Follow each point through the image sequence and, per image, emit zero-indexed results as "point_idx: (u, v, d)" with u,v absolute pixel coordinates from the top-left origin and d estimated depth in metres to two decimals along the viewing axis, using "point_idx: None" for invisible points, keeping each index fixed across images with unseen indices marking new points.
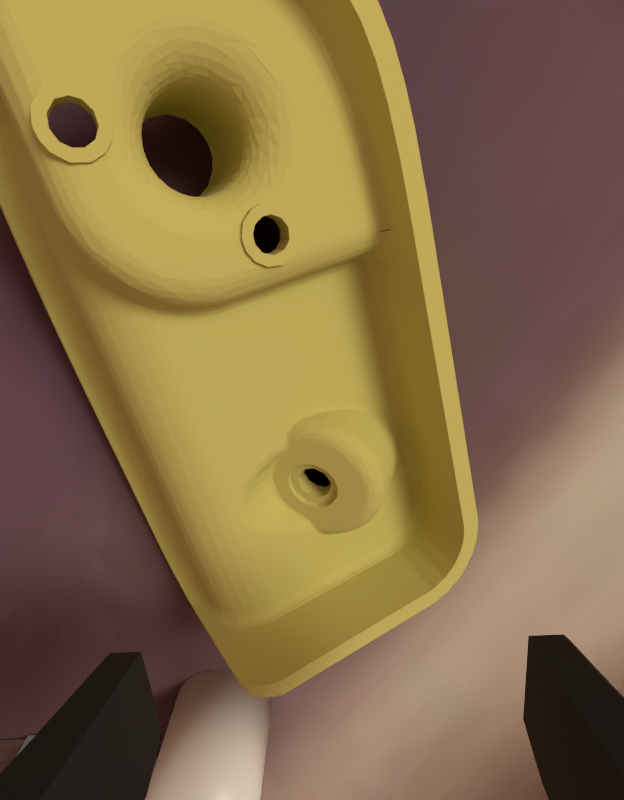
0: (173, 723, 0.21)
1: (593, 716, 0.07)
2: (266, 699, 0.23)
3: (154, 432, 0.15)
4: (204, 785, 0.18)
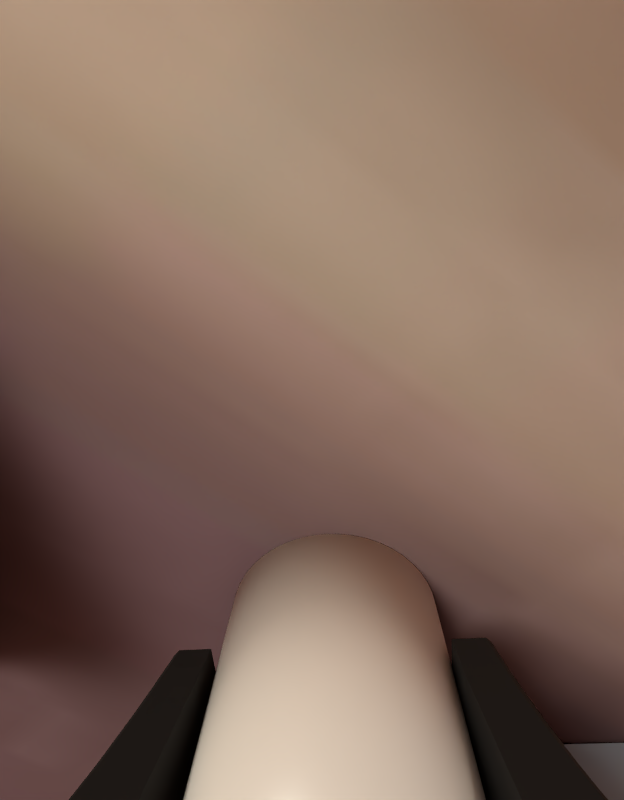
0: None
1: (495, 719, 0.07)
2: (299, 545, 0.10)
3: None
4: None
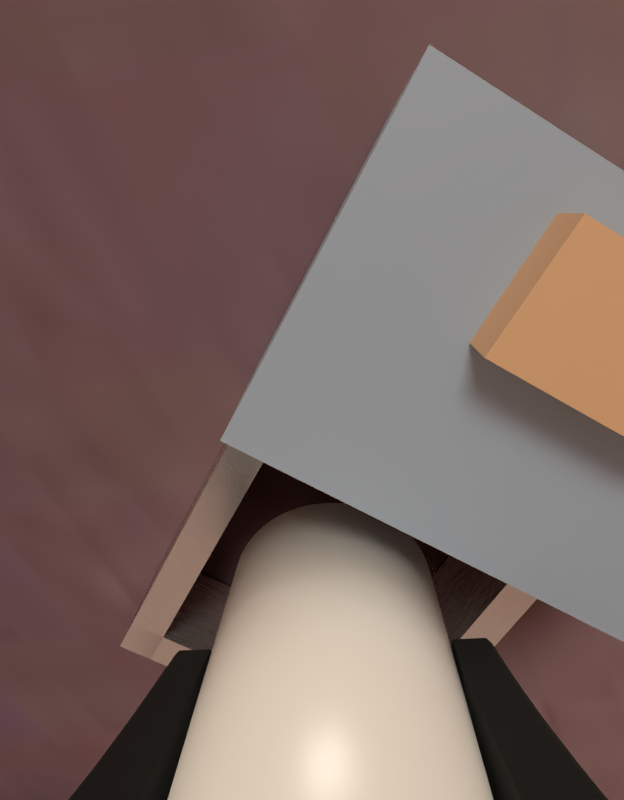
0: None
1: (495, 719, 0.07)
2: (299, 513, 0.11)
3: None
4: None
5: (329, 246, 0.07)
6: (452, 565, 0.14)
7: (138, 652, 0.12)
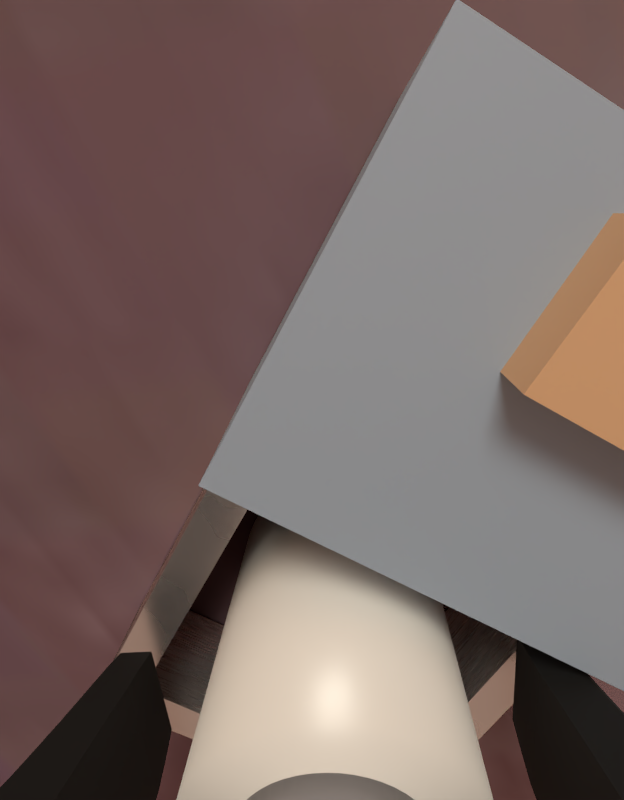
0: None
1: (578, 716, 0.07)
2: None
3: None
4: (196, 728, 0.08)
5: (329, 254, 0.06)
6: None
7: None
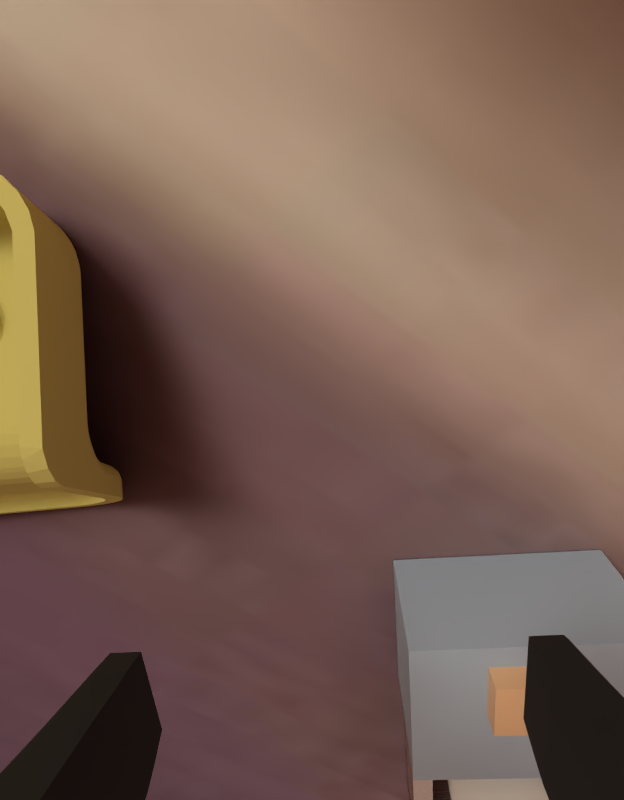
0: None
1: (593, 716, 0.07)
2: None
3: None
4: None
5: (413, 710, 0.17)
6: None
7: None
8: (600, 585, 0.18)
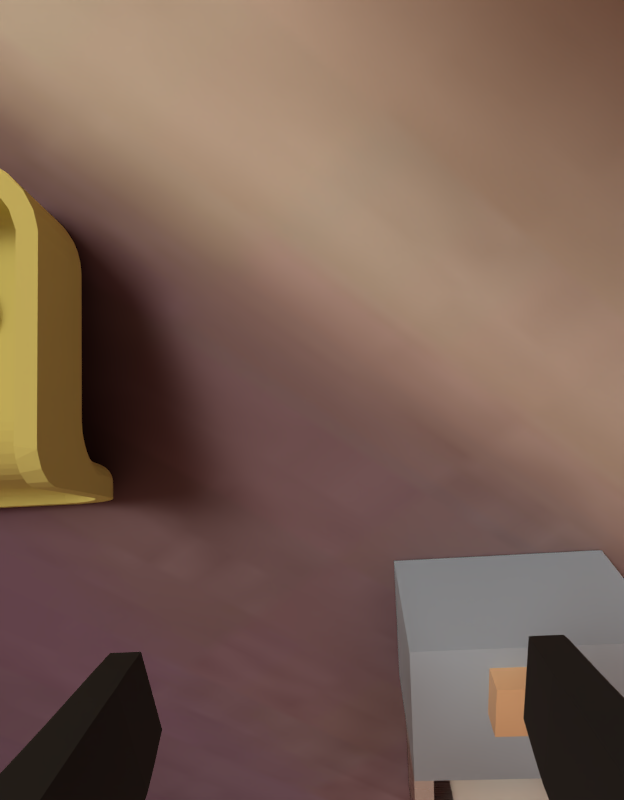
0: None
1: (593, 716, 0.07)
2: None
3: None
4: None
5: (414, 711, 0.17)
6: None
7: None
8: (601, 585, 0.18)
